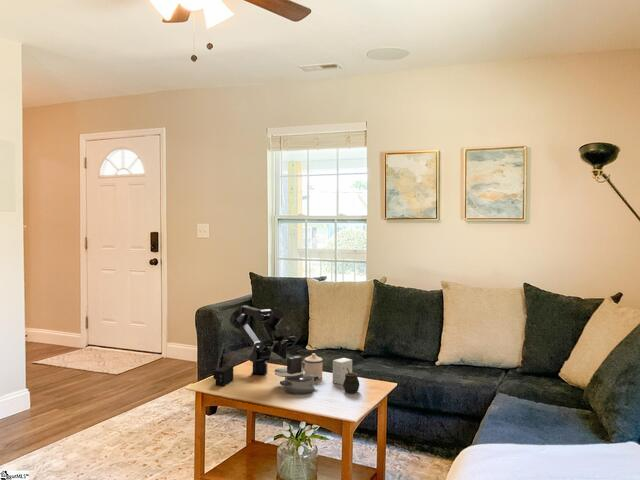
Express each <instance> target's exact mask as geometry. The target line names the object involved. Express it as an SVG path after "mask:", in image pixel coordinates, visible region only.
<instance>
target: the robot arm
mask: <svg viewBox="0 0 640 480" xmlns="http://www.w3.org/2000/svg"><path fill="white" fill-rule="evenodd" d="M250 317H253V318H254V319H255V320H256V322H258V323H259V322H260V323H261V322H262V325H261V330H262V331H263V330H264V331H265V333H266V334H265V335H266V339H265V340H262V341H261V340H260V339H259V338H258V337H257V334H255V332H254V331H253V329H252V328H251V327H250V325H249V324H248V322H249V319H250ZM284 317H285V313H284V312H283V311H282V310H280V309H278V307H273V308H272V309H270V308H264V309H262V308H261V309H259V308H257V307H252V306H249V305H240V306H239V307H238V308H237V310H235V311H234V312H233V313H232V314H231V316H230V317H229V322H230V324H231V325H232V327H234V328H235V329H237V330H239V332H241V334H242V335H243V337H244V338H245V340H246V341H247V342H248V345H250V347H251V354H250V355H249V357H248V358H249V362H250V363H252V372H251V375H255V376H257V375H258V376H265V375H266V374H267V373H268V362H269V361H270V359H271V355H272V352H273V353H274V354H276V355H277V356H279V357H280V358H282V359H283V360H284V361H285V360H287V348H293V347H294V346H295V344H296V343H297V342H298V338H297V337H296V336H295V335H293V336H292V335H291V336H288V335H289V334H290V333H291V329H290V326H285V327H283V328H278V327H277V326H279V324H280V323H281V321H282V320H283V318H284ZM286 336H288V337H286ZM285 338H286V339H285ZM270 348H271V349H270ZM267 361H268V362H267Z"/></svg>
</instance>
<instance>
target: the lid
mask: <svg viewBox="0 0 640 480" xmlns="http://www.w3.org/2000/svg"><path fill="white" fill-rule="evenodd" d="M302 360H303V356H300V355H294V356H287V357H286V361H287V362H286V363H287V364H286V366H284V367H283V366H282V367H278V368H275V369H274V375H275V376H277V377H280V378H281V377H282V378H285V377H298V376H301V375H303V374H304V373H305V371H303V369H302Z"/></svg>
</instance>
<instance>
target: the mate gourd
mask: <svg viewBox="0 0 640 480" xmlns="http://www.w3.org/2000/svg"><path fill="white" fill-rule="evenodd" d="M347 370H348V368H347ZM342 386H343V390H344V391H345V393H347V394H355V393H357V392H358V391H359V389H360V381H359V379H358V373H356V372H352V373H350V372H349V370H348V373H346V374H345V381H344V383H343V384H342Z"/></svg>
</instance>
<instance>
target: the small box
mask: <svg viewBox="0 0 640 480" xmlns="http://www.w3.org/2000/svg"><path fill="white" fill-rule="evenodd" d="M347 368H348V370H349V372H350V373H353V359H350V358H347V357H342V358H337V359H334V360H332V383H334V384H337V385H341V386H342V385H343V383H344V381H345V374H346V373H348V370H347Z"/></svg>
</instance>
